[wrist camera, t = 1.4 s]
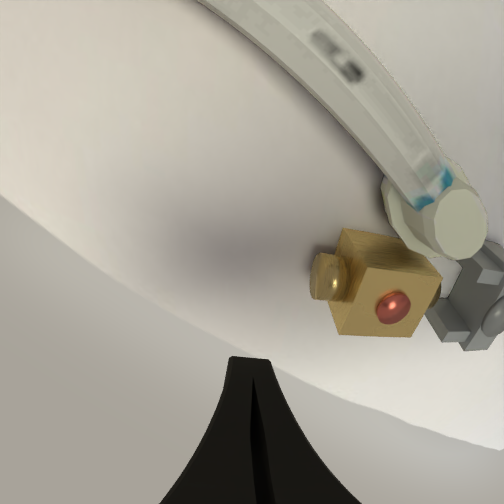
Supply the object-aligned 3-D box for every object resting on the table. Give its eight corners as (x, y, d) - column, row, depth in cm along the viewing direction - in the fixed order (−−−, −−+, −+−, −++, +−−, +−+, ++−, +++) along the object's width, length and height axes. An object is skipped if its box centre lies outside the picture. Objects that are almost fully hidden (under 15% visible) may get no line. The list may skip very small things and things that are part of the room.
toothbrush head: (165, -123, 5) (527, 246, 11) (196, -68, 11) (466, 206, 17) (81, -56, 7) (456, 313, 13) (135, -16, 13) (411, 256, 19)
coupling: (500, 244, 19) (537, 278, 15) (464, 314, 22) (491, 352, 18) (454, 232, 18) (494, 269, 14) (417, 312, 22) (443, 356, 18)
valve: (426, 243, 19) (463, 283, 15) (403, 295, 21) (430, 340, 17) (319, 223, 18) (340, 266, 14) (301, 284, 20) (314, 336, 16)
